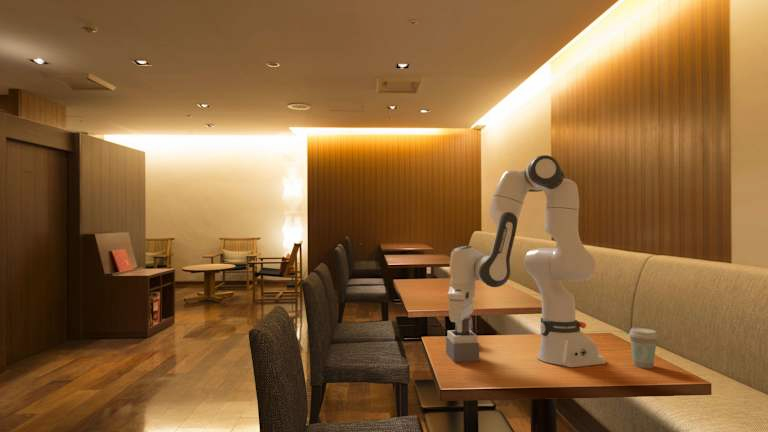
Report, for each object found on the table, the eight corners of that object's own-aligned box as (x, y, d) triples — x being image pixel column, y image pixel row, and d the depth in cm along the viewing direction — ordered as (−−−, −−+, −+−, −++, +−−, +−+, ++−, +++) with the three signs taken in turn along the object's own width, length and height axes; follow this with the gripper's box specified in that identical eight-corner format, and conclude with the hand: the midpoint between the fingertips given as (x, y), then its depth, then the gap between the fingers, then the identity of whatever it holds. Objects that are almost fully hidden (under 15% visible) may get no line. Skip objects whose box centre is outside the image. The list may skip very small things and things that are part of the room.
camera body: (469, 352, 174) (469, 329, 174) (479, 361, 163) (479, 336, 163) (446, 352, 173) (446, 329, 173) (453, 361, 162) (453, 337, 162)
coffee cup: (623, 362, 162) (623, 327, 162) (647, 361, 163) (647, 327, 163) (639, 370, 154) (639, 333, 154) (663, 369, 155) (663, 333, 155)
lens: (457, 335, 172) (457, 313, 172) (470, 336, 170) (470, 314, 170) (453, 338, 167) (453, 316, 167) (467, 339, 165) (467, 317, 165)
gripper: (461, 287, 179) (461, 323, 179) (445, 294, 161) (445, 335, 160) (477, 288, 177) (477, 324, 177) (463, 296, 158) (463, 337, 158)
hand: (462, 330), depth 168 cm, fingers closed on lens, 5 cm apart
